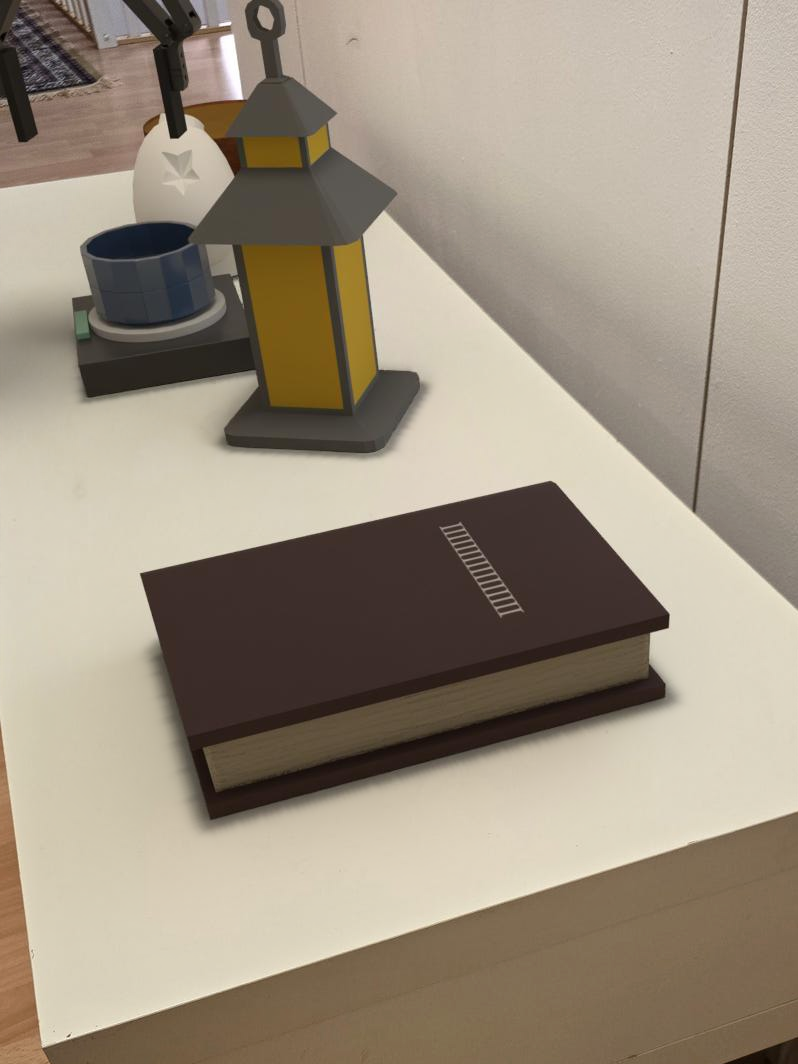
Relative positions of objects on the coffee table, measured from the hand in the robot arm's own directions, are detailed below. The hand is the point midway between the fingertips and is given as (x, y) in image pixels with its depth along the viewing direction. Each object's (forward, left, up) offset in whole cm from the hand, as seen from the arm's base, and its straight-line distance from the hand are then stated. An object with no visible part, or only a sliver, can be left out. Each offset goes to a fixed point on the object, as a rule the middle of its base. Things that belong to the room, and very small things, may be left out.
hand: (103, 137), depth 106 cm
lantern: (+20, -14, -19) cm, 31 cm away
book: (+32, -52, -19) cm, 64 cm away
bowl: (-3, +43, -19) cm, 47 cm away
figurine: (-1, +21, -19) cm, 28 cm away
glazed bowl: (+1, +1, -15) cm, 15 cm away
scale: (+1, +1, -19) cm, 19 cm away
